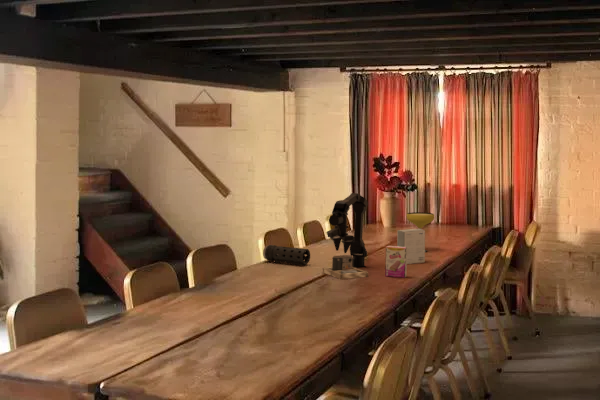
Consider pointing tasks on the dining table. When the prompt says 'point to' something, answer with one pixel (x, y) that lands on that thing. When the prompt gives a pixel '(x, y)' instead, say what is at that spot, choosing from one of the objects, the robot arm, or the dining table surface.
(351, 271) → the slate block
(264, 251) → the muzzle brake
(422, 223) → the cocktail glass
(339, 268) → the camera
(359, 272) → the slot rack
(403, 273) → the candy bar box
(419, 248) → the hard drive box
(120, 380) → the dining table surface
